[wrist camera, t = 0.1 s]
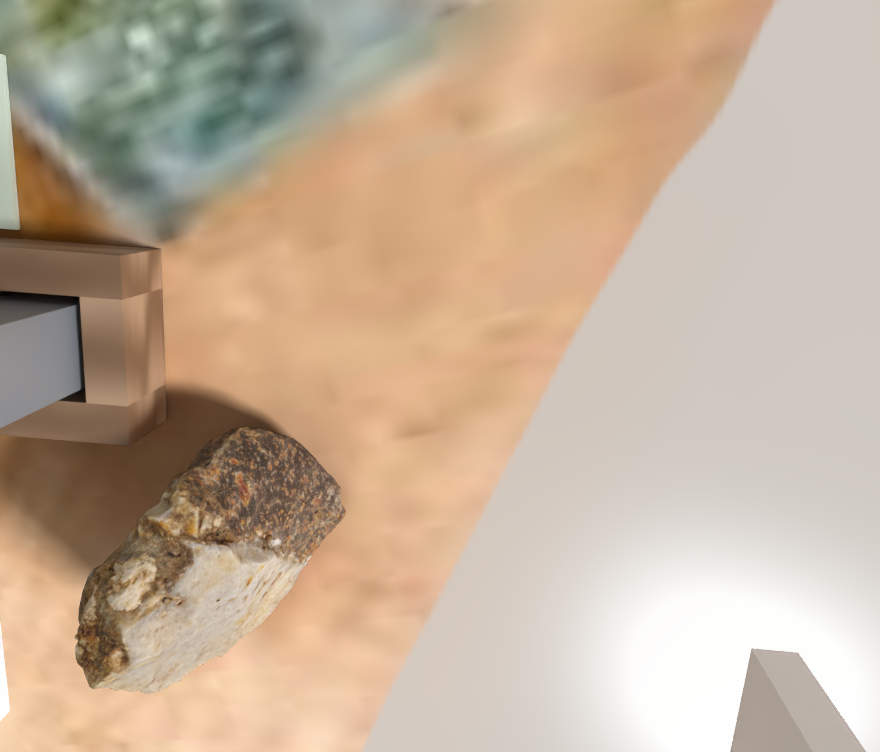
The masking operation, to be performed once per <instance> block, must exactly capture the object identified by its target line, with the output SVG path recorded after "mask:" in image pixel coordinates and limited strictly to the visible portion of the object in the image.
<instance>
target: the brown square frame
mask: <svg viewBox="0 0 880 752" xmlns="http://www.w3.org/2000/svg"><path fill="white" fill-rule="evenodd" d="M19 292H26V293H39V294H52V295H65V296H78V297H80V312H81V328H82V343H83V359H84V374H85V388H83V389H81V390H79V391H77V392H75V393H72V394H70V395H68V396H66V397H64V398H62V399H60V400H58V401H56V402H54V403H52V404H50V405H48V406H46V407H43V408H41V409H39V410H37V411H35V412H33V413H31V414H29V415H27V416H25V417H23V418H21V419H19V420H17V421H14V422H12V423H10V424H8V425H6V426H4V427H2V428H0V435H7V436H18V437H30V438H42V439H53V440H65V441H76V442H88V443H99V444H111V445H123V446H130V445H132V444H133V443H134V442H136V441H137V440H139V439H140V438H141V437H143V436H144V435H146V434H147V433H149V432H150V431H151V430H153V429H154V428H156V427H157V426H158V425H160V424H161V423H163V422H164V421H165V420H167V416H166V386H165V357H164V327H163V298H162V268H161V249H155V248H141V247H128V246H114V245H101V244H87V243H74V242H60V241H47V240H34V239H20V238H7V237H0V296H4V295H9V294H14V293H19Z"/></svg>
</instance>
